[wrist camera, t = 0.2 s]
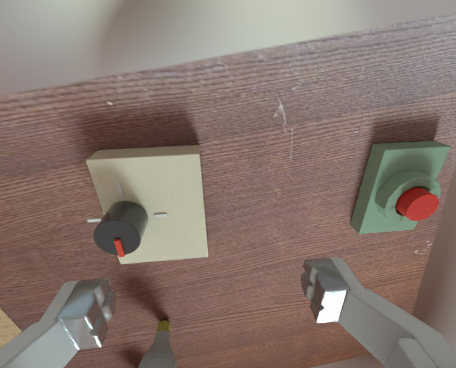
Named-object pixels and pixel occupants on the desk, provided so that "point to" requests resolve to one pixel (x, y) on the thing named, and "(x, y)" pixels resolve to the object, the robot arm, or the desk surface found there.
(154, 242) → the stove panel
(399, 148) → the box
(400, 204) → the button
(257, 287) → the desk surface
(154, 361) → the light bulb
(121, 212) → the burner knob
